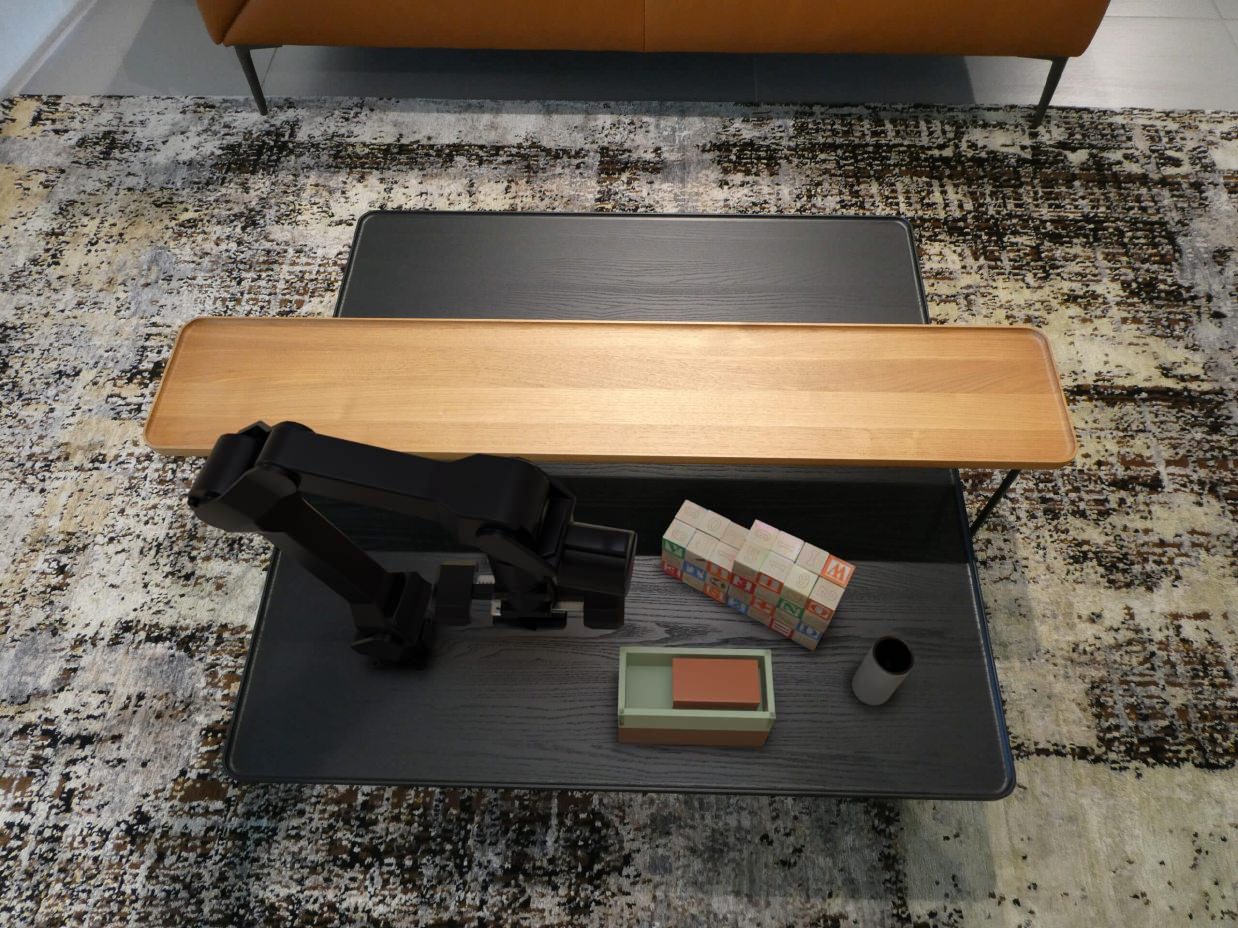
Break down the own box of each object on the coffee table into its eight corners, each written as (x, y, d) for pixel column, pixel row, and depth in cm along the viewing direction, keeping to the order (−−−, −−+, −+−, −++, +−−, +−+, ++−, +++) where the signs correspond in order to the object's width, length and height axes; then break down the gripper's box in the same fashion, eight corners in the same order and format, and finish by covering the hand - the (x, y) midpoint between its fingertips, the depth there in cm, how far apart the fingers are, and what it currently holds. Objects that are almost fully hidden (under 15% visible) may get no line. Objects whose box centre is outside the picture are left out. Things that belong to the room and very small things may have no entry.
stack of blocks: (659, 571, 107) (662, 523, 97) (682, 534, 110) (687, 484, 100) (814, 652, 101) (835, 610, 91) (835, 610, 104) (857, 565, 94)
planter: (849, 667, 100) (869, 634, 91) (887, 668, 100) (911, 635, 91) (853, 705, 97) (875, 674, 89) (893, 706, 97) (918, 675, 89)
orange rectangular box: (672, 700, 87) (760, 702, 86) (672, 657, 89) (757, 659, 89) (671, 714, 91) (755, 716, 90) (671, 672, 93) (752, 674, 93)
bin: (619, 742, 95) (617, 714, 87) (621, 679, 100) (619, 646, 91) (762, 746, 95) (775, 718, 86) (758, 682, 99) (770, 649, 90)
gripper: (626, 487, 81) (627, 561, 94) (433, 483, 81) (461, 558, 94) (623, 594, 75) (625, 657, 88) (414, 589, 75) (447, 653, 88)
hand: (538, 627), depth 90 cm, fingers closed
